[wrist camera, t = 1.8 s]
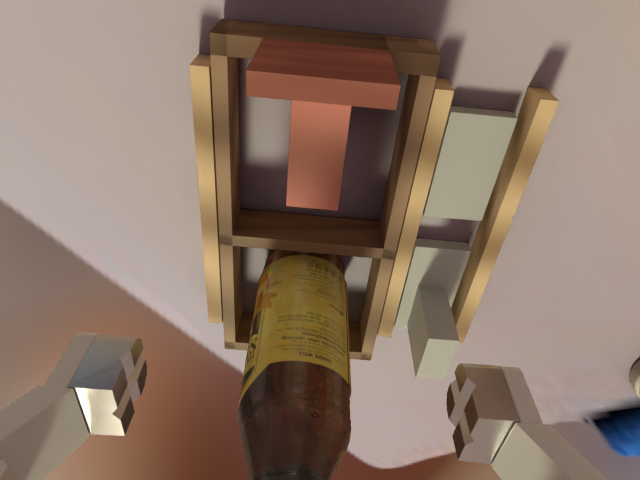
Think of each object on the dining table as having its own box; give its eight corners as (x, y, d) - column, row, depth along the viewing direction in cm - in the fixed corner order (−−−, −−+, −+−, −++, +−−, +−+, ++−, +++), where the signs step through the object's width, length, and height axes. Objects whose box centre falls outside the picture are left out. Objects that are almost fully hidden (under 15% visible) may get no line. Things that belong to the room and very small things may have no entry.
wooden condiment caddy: (222, 18, 25) (181, 64, 18) (431, 39, 25) (464, 91, 18) (231, 319, 38) (210, 407, 31) (368, 330, 38) (374, 419, 32)
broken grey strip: (447, 105, 27) (471, 151, 22) (512, 111, 27) (550, 158, 22) (393, 318, 38) (401, 381, 33) (440, 322, 38) (455, 385, 33)
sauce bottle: (251, 245, 34) (173, 564, 18) (336, 229, 33) (336, 553, 17) (277, 309, 37) (233, 621, 21) (355, 297, 36) (369, 615, 20)
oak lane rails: (198, 54, 26) (189, 65, 24) (545, 88, 26) (559, 101, 25) (214, 303, 37) (208, 322, 36) (457, 323, 38) (463, 343, 36)
